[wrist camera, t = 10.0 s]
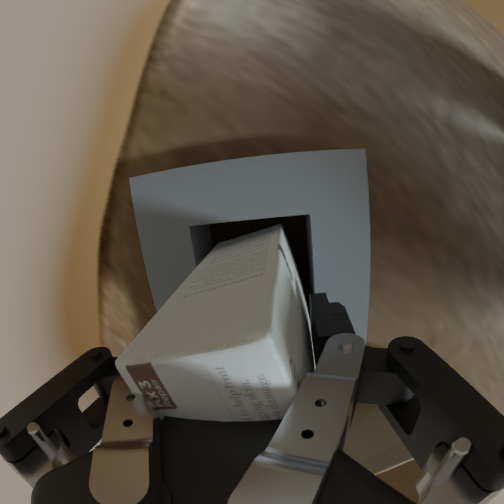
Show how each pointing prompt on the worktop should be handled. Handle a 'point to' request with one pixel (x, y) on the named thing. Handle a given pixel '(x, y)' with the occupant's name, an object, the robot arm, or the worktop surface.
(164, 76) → the worktop surface
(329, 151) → the socket frame
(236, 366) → the skincare box
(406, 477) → the planter bowl
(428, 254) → the worktop surface
